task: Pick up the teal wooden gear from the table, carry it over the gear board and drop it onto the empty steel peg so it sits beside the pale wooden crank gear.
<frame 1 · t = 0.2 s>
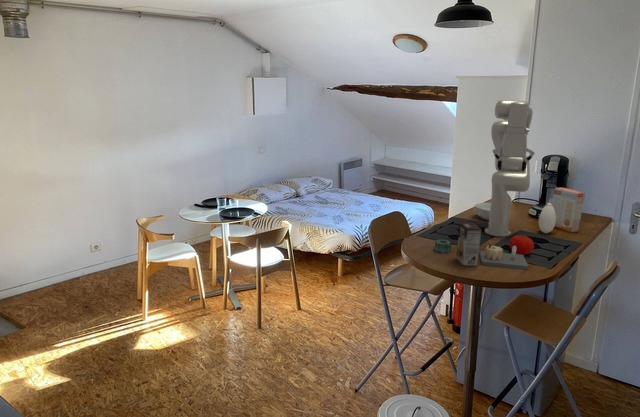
hand: (511, 170, 220), 36 cm above the counter, tool pointing down, fingers open, 9 cm apart
brown printed box: (466, 262, 211), on the counter
tomato: (520, 253, 223), on the counter
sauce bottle: (545, 233, 254), on the counter
cracker box: (563, 229, 262), on the counter
cereal bowl: (489, 219, 278), on the counter
teal gear: (442, 250, 225), on the counter
gear board: (502, 261, 213), on the counter
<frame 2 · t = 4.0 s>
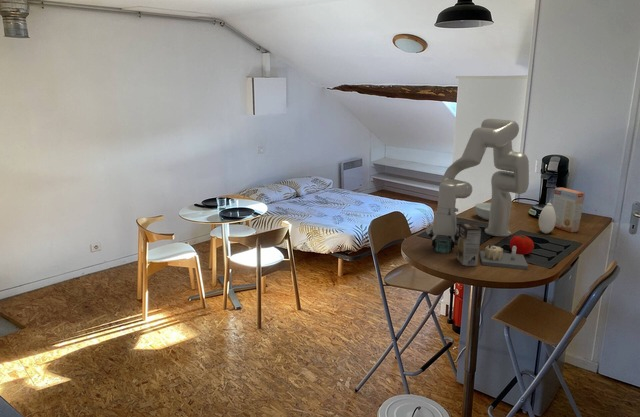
hand: (442, 248, 224), 1 cm above the counter, tool pointing down, fingers closed on teal gear, 7 cm apart
teal gear: (442, 250, 225), on the counter, touching gripper
everything else where it was.
when the fingers open (4 cm above the counter, at t = 11.9 s): teal gear drops 1 cm, resting on gear board.
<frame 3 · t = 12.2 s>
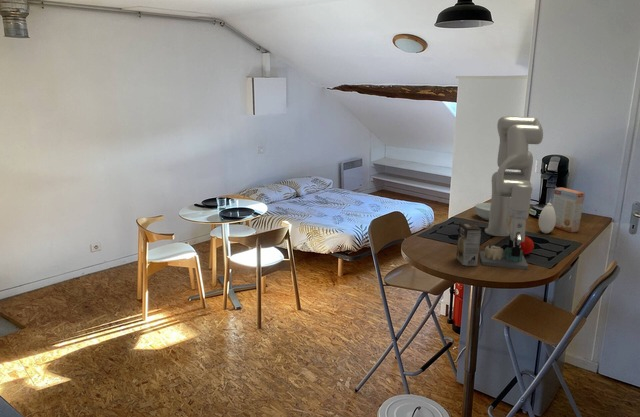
hand: (513, 252, 211), 4 cm above the counter, tool pointing down, fingers open, 9 cm apart
teal gear: (512, 259, 211), point 1 cm above the counter, touching gear board
everything else where it was.
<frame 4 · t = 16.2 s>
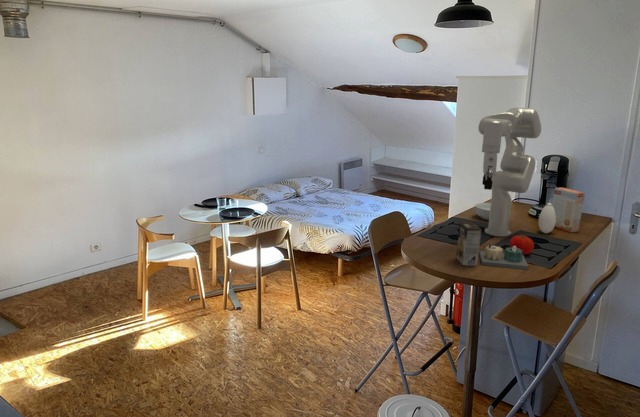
hand: (486, 187, 223), 28 cm above the counter, tool pointing down, fingers open, 9 cm apart
nothing on the counter moved.
at the end: teal gear 0.1 cm from the target spot on the gear board, point 1.5 cm above the gear board's base; teal gear tilted 0°; the gripper is holding nothing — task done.
